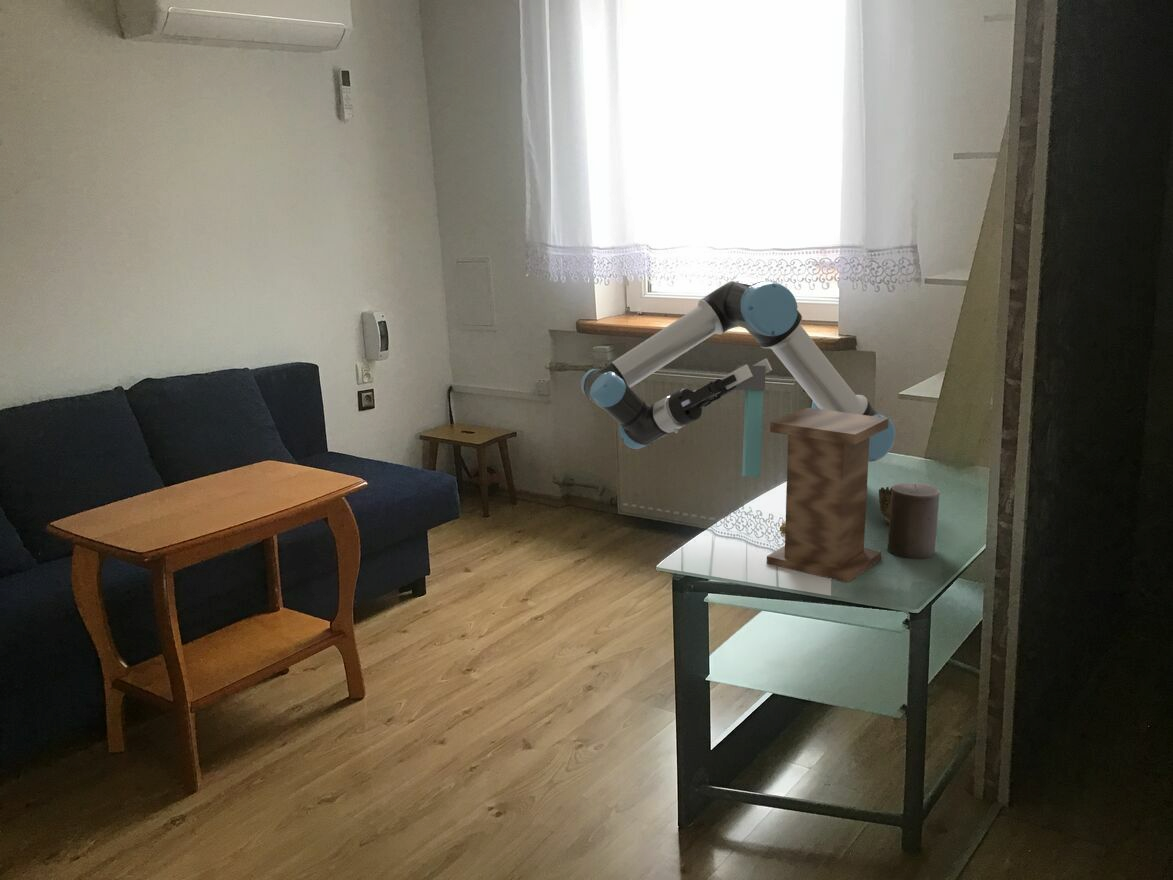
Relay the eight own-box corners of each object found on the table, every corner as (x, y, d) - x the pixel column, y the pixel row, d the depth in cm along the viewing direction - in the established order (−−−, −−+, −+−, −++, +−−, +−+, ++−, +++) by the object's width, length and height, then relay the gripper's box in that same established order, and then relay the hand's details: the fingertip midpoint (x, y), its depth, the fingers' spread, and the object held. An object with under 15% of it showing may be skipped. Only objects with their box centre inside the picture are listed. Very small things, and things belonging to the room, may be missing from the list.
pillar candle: (890, 558, 219) (895, 489, 215) (884, 541, 228) (889, 475, 224) (939, 560, 217) (945, 491, 214) (930, 543, 227) (936, 477, 223)
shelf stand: (766, 563, 217) (770, 422, 210) (802, 541, 229) (806, 407, 222) (848, 582, 206) (855, 434, 199) (881, 558, 218) (888, 418, 211)
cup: (912, 530, 235) (914, 496, 233) (878, 528, 236) (880, 494, 234) (909, 519, 242) (911, 486, 240) (876, 518, 243) (877, 485, 241)
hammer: (761, 477, 217) (737, 476, 217) (756, 475, 222) (732, 475, 222) (765, 366, 216) (741, 365, 216) (760, 366, 221) (736, 366, 221)
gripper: (709, 416, 239) (789, 375, 225) (659, 434, 224) (742, 392, 209) (695, 387, 240) (774, 344, 225) (644, 403, 224) (726, 358, 210)
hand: (758, 367), depth 217 cm, fingers closed on hammer, 8 cm apart
